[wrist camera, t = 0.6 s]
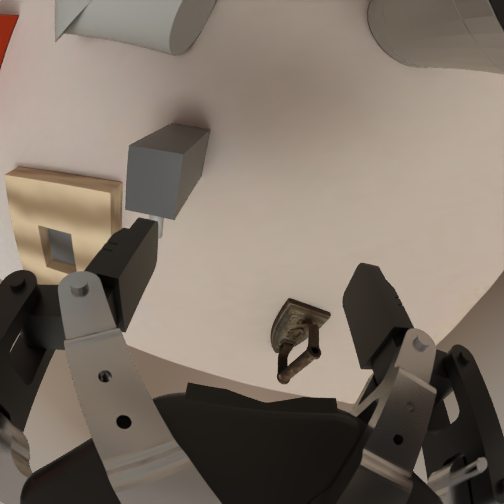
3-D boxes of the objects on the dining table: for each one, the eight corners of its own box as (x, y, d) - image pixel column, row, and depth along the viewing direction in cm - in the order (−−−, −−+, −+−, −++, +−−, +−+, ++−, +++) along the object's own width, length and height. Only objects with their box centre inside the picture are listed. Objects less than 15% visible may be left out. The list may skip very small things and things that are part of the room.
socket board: (18, 166, 27) (1, 177, 24) (122, 182, 29) (107, 196, 26) (38, 277, 38) (27, 291, 35) (125, 306, 40) (117, 324, 37)
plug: (171, 123, 25) (129, 145, 17) (210, 130, 26) (183, 154, 17) (162, 194, 30) (125, 242, 21) (196, 201, 30) (171, 253, 22)
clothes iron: (332, 306, 39) (339, 371, 32) (293, 335, 46) (294, 390, 40) (291, 295, 37) (293, 365, 30) (256, 327, 44) (253, 385, 38)
